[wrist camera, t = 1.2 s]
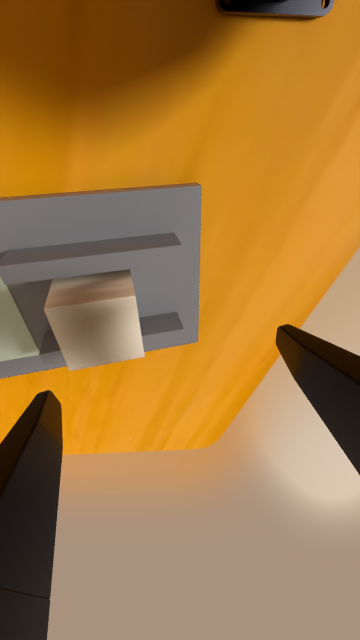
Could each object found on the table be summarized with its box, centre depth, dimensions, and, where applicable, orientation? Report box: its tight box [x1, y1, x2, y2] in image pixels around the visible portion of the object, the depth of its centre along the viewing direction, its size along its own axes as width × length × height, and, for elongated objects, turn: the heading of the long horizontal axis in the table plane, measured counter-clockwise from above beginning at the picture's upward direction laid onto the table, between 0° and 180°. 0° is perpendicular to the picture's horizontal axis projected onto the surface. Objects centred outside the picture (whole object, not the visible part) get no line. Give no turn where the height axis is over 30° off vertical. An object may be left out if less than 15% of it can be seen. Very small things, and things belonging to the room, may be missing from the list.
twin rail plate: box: [0, 183, 201, 378], centre depth 19 cm, size 23×14×4 cm, turn 91°
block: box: [44, 269, 145, 371], centre depth 18 cm, size 5×5×5 cm
